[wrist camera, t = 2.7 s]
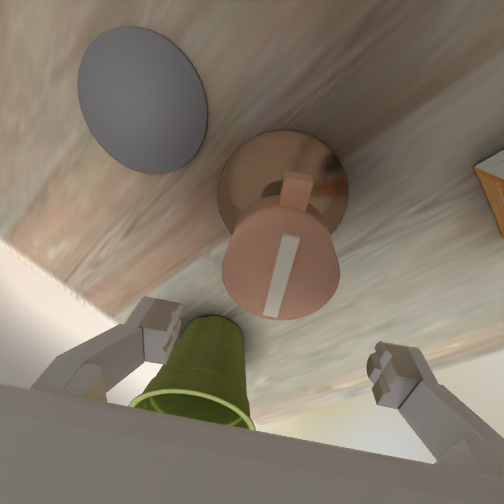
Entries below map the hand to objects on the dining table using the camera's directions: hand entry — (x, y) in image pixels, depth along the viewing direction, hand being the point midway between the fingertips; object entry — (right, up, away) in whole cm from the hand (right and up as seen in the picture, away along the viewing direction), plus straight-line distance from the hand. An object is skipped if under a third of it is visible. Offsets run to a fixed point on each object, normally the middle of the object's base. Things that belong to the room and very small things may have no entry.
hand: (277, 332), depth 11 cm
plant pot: (-5, -7, +23) cm, 25 cm away
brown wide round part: (+2, +8, +13) cm, 16 cm away
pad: (-9, +15, +10) cm, 20 cm away
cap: (+1, +4, +6) cm, 8 cm away
